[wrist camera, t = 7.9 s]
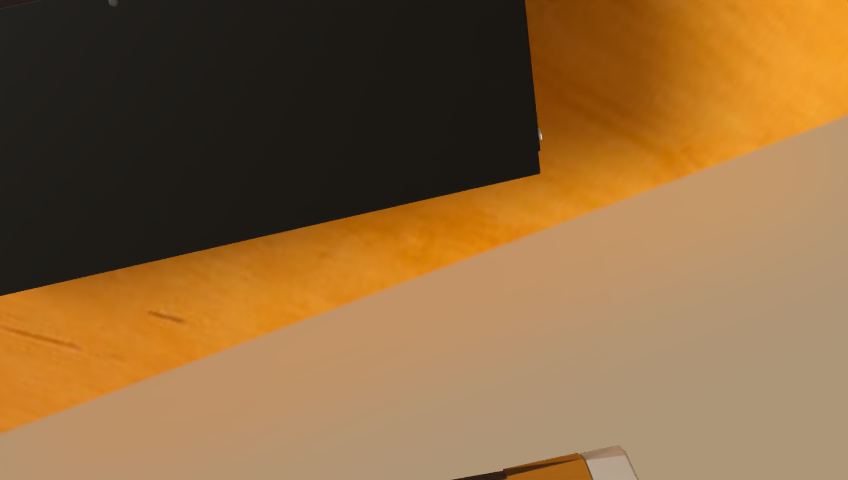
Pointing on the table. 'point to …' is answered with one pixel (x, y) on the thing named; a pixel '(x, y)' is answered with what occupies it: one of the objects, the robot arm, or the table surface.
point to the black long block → (244, 120)
